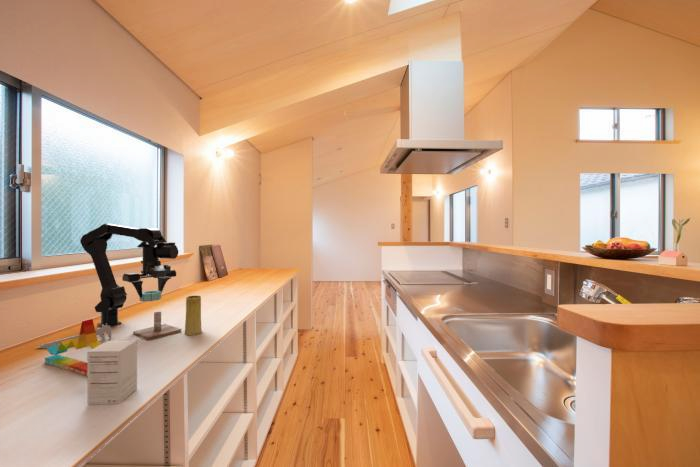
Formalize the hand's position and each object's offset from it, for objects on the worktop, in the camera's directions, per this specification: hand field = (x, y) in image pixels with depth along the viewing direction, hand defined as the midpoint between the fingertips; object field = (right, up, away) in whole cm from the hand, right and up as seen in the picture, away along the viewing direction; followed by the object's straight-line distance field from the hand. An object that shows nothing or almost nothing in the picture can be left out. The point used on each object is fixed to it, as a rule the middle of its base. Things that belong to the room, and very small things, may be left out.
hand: (150, 295), depth 133 cm
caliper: (-13, -13, -21) cm, 28 cm away
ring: (0, -2, 0) cm, 2 cm away
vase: (+21, -13, -7) cm, 26 cm away
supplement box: (+25, -14, -55) cm, 62 cm away
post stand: (+8, -13, -8) cm, 17 cm away
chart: (+6, -14, -41) cm, 44 cm away
